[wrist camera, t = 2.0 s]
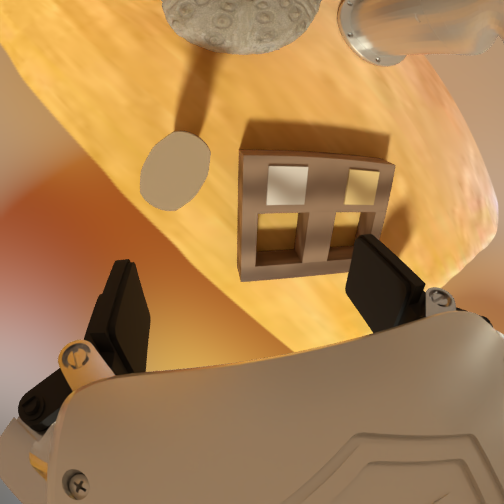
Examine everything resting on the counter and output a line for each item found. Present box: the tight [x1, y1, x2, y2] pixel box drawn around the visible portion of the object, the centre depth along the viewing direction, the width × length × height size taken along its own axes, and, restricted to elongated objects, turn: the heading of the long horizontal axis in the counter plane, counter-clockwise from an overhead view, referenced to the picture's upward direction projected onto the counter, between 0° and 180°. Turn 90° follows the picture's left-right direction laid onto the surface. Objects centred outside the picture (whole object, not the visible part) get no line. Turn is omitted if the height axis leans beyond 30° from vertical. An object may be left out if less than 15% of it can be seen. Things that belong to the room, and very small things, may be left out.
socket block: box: [237, 150, 395, 282], centre depth 39 cm, size 18×22×4 cm
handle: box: [140, 131, 211, 211], centre depth 26 cm, size 5×6×15 cm
